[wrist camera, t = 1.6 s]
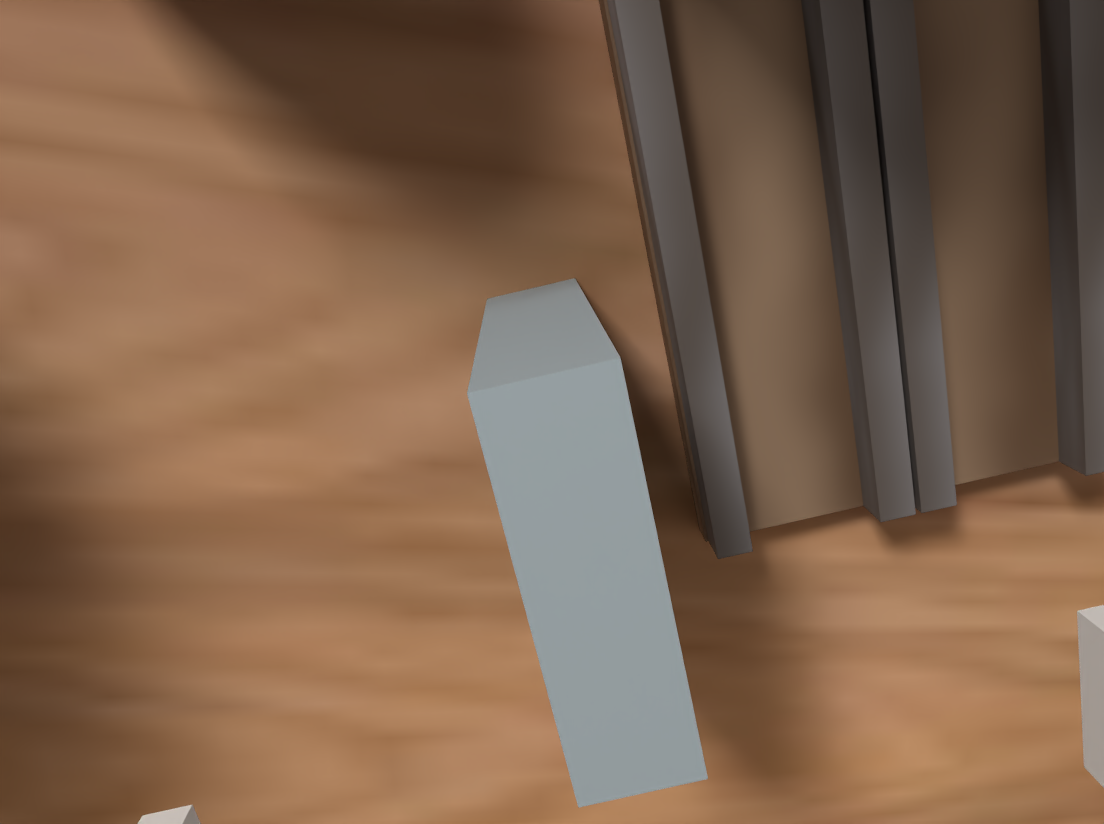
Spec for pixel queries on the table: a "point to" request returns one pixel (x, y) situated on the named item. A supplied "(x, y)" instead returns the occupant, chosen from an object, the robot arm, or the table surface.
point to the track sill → (869, 244)
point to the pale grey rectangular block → (584, 542)
